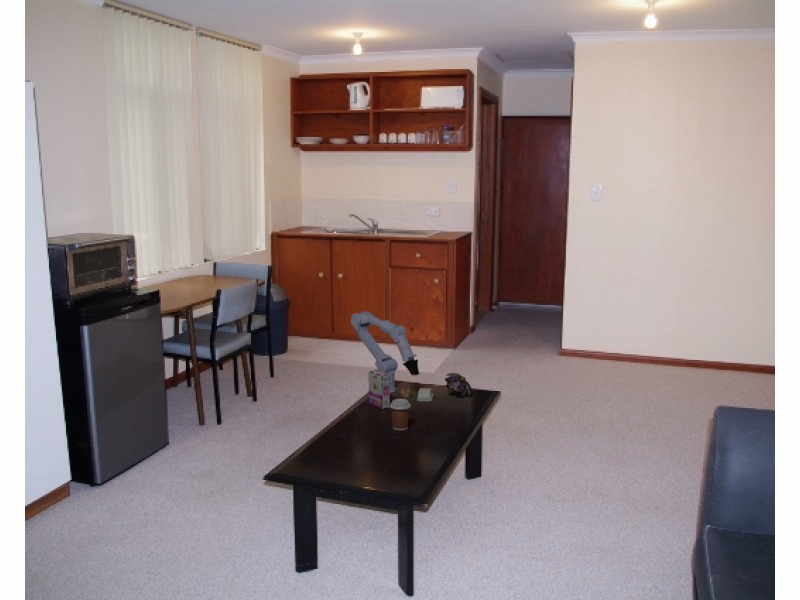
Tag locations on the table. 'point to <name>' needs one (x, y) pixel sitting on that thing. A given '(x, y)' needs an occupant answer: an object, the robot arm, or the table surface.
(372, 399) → the candy bar box
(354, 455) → the table surface
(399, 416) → the coffee cup
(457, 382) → the decorative flower
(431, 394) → the sage base block
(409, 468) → the table surface
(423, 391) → the off-white top block
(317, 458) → the table surface
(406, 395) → the terracotta cylinder
